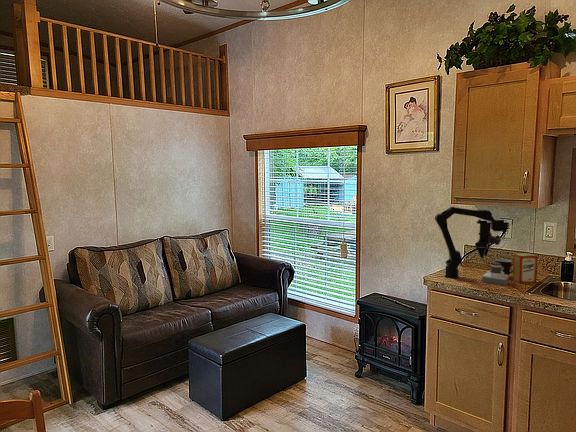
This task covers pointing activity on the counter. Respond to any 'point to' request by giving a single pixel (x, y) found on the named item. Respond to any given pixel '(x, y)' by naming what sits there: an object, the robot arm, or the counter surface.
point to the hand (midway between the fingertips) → (484, 257)
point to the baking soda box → (525, 268)
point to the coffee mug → (505, 265)
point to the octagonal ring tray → (495, 278)
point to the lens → (495, 267)
